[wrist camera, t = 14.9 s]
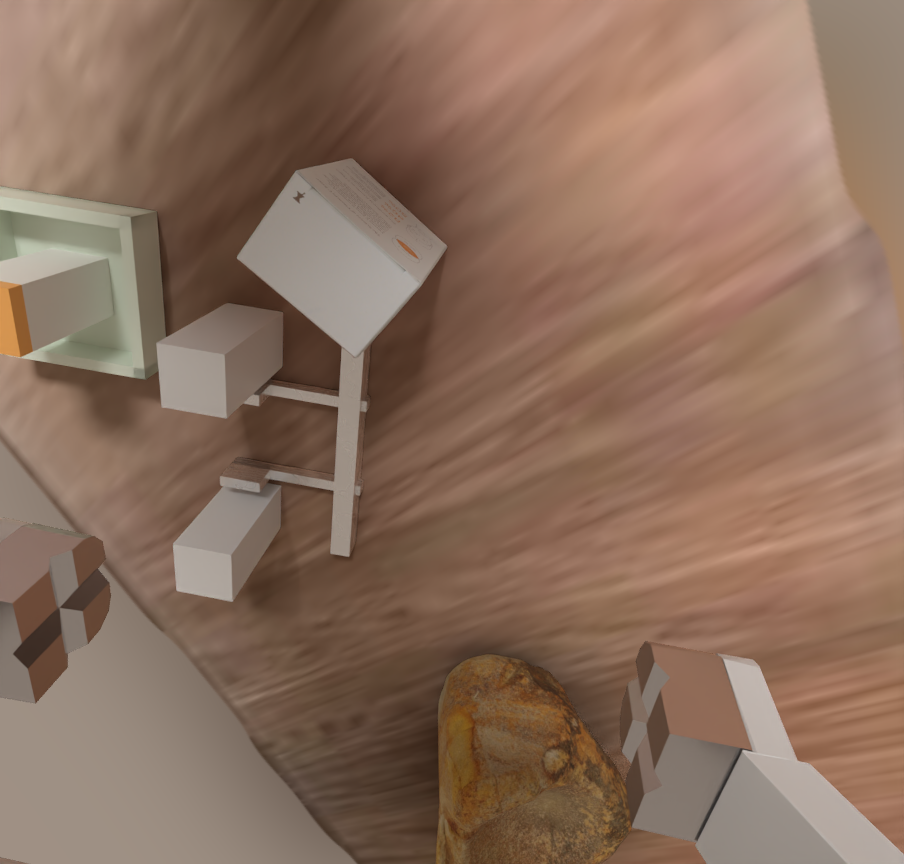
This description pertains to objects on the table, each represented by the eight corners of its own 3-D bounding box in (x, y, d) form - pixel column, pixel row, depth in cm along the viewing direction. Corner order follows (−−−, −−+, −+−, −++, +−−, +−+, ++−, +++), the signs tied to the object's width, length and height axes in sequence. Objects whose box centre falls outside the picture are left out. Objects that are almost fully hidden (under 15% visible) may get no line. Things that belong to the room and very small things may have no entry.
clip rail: (233, 304, 44) (213, 315, 42) (376, 327, 44) (364, 341, 41) (238, 519, 52) (222, 541, 50) (358, 542, 52) (348, 565, 49)
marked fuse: (51, 248, 44) (-61, 277, 35) (107, 257, 43) (8, 289, 35) (59, 305, 45) (-45, 345, 37) (114, 315, 45) (20, 357, 37)
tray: (1, 186, 43) (-36, 190, 40) (156, 211, 42) (130, 217, 39) (28, 340, 48) (-3, 353, 45) (168, 364, 47) (145, 379, 44)
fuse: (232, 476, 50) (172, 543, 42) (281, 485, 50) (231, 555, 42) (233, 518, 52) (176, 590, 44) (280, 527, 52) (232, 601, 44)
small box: (301, 225, 41) (229, 256, 32) (353, 154, 39) (292, 165, 30) (396, 310, 43) (354, 363, 34) (451, 246, 41) (423, 285, 31)
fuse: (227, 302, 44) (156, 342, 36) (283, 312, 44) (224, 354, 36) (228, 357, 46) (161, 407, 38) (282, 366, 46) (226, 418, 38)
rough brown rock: (606, 821, 64) (640, 1006, 50) (439, 813, 64) (427, 993, 51) (636, 637, 54) (688, 803, 41) (439, 630, 55) (425, 790, 41)
